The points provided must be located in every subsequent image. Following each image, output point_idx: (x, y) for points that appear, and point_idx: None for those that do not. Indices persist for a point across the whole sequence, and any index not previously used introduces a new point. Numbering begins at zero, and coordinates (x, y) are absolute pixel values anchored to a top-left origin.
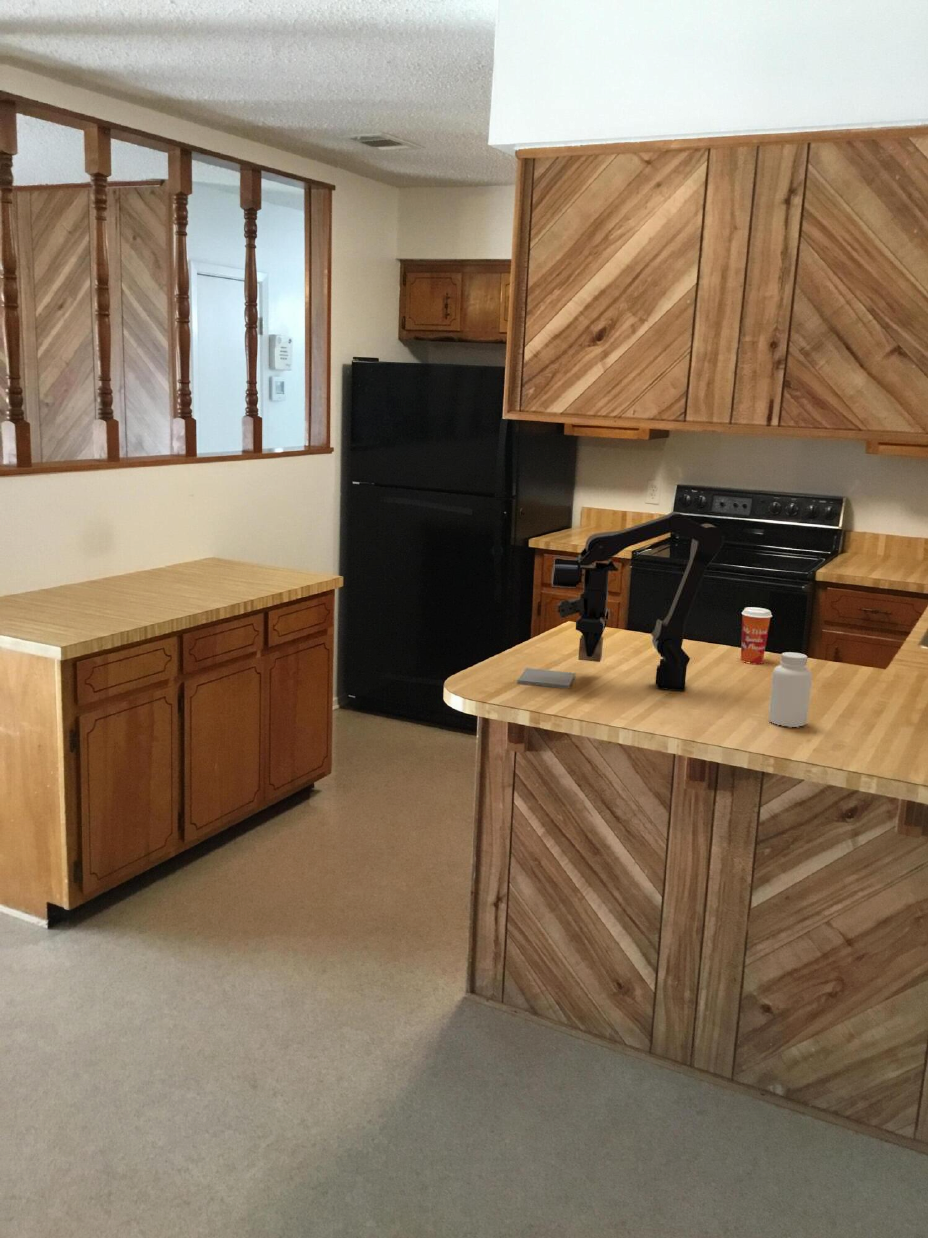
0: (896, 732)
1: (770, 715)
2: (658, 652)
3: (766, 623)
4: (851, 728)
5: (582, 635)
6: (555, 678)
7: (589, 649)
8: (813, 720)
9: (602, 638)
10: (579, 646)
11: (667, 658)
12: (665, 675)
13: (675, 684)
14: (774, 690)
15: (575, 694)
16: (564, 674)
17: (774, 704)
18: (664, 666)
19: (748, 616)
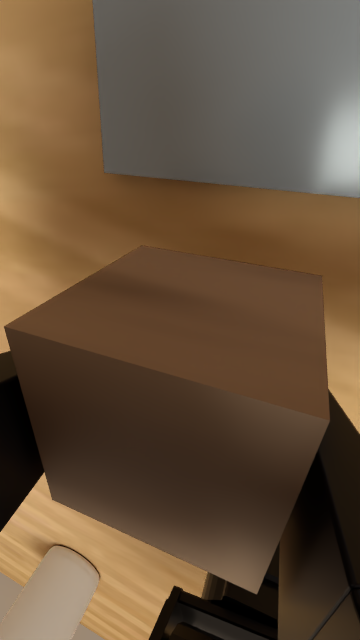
0: (100, 629)
1: (54, 558)
2: (171, 636)
3: None
4: (92, 605)
5: (245, 408)
6: (221, 62)
7: None
8: (106, 595)
9: (166, 550)
10: (70, 288)
11: (159, 617)
12: None
13: None
14: (15, 613)
15: (50, 205)
16: (353, 121)
17: (33, 582)
18: (218, 581)
19: None
